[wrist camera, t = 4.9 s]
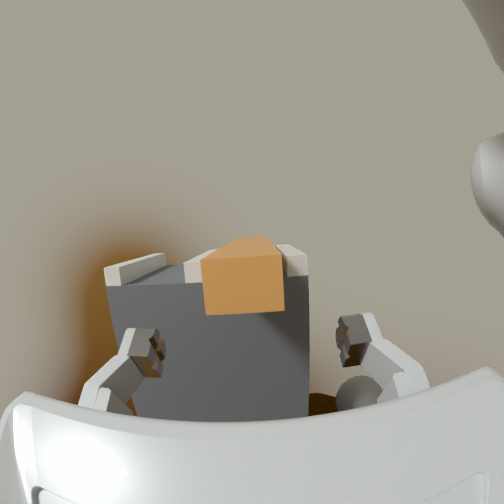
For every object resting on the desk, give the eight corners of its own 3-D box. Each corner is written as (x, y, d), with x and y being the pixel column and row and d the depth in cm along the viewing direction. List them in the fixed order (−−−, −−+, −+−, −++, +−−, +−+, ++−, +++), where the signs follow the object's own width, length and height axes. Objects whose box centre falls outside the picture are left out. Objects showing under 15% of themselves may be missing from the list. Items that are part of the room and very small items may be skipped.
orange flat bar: (266, 255, 36) (264, 235, 36) (284, 310, 12) (281, 254, 12) (239, 257, 36) (237, 237, 36) (205, 315, 12) (200, 259, 12)
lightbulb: (350, 422, 34) (357, 363, 33) (381, 437, 29) (394, 375, 28) (322, 441, 31) (326, 381, 30) (354, 460, 26) (366, 398, 25)
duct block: (293, 431, 34) (288, 244, 32) (303, 490, 22) (307, 254, 20) (187, 433, 35) (153, 253, 32) (168, 489, 23) (103, 268, 20)
